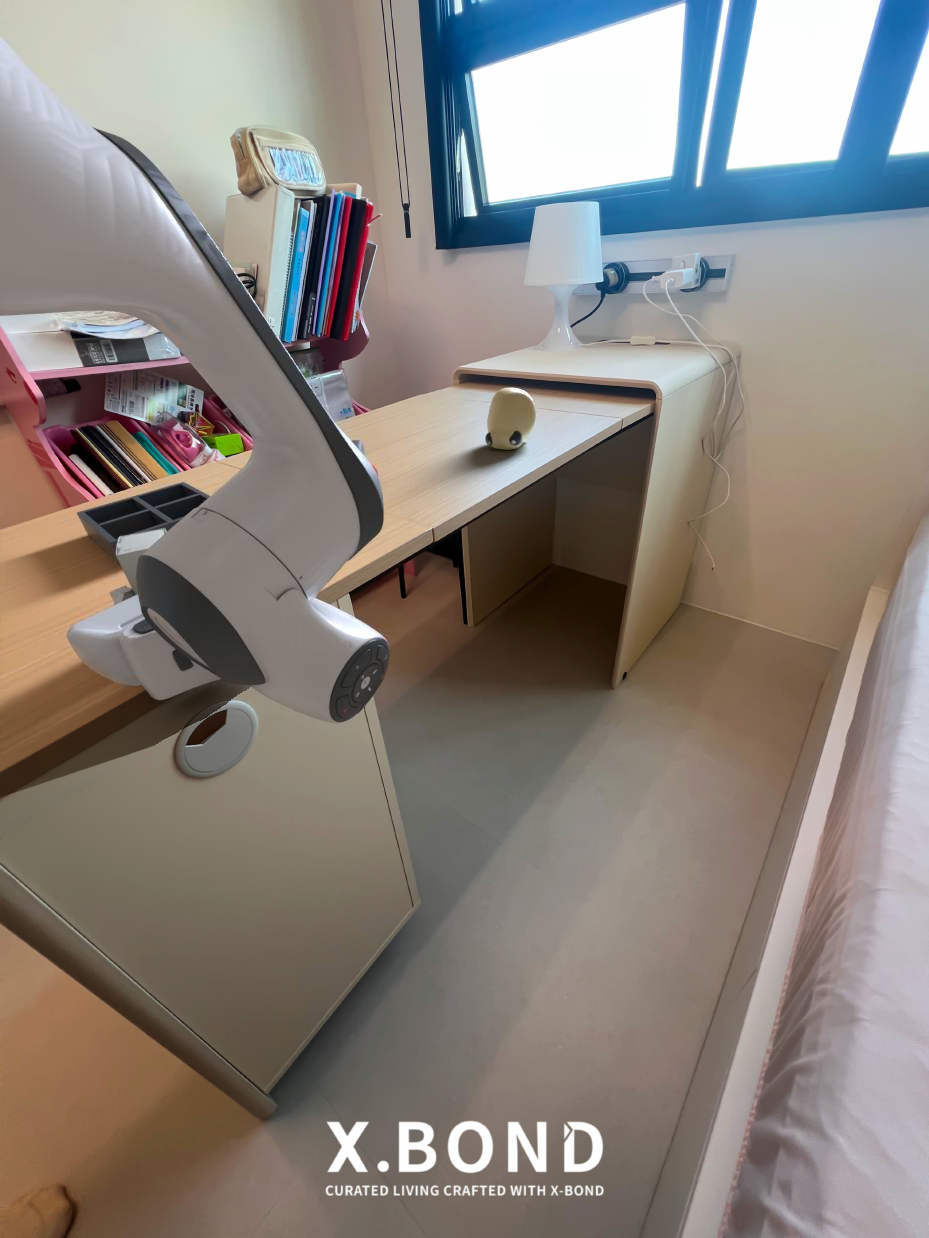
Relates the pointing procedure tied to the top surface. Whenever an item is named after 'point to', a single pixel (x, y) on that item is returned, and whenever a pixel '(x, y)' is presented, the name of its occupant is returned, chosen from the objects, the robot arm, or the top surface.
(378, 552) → the top surface
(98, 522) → the compartment tray
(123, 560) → the white rectangular box
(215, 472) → the top surface
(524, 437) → the yellow toy head
